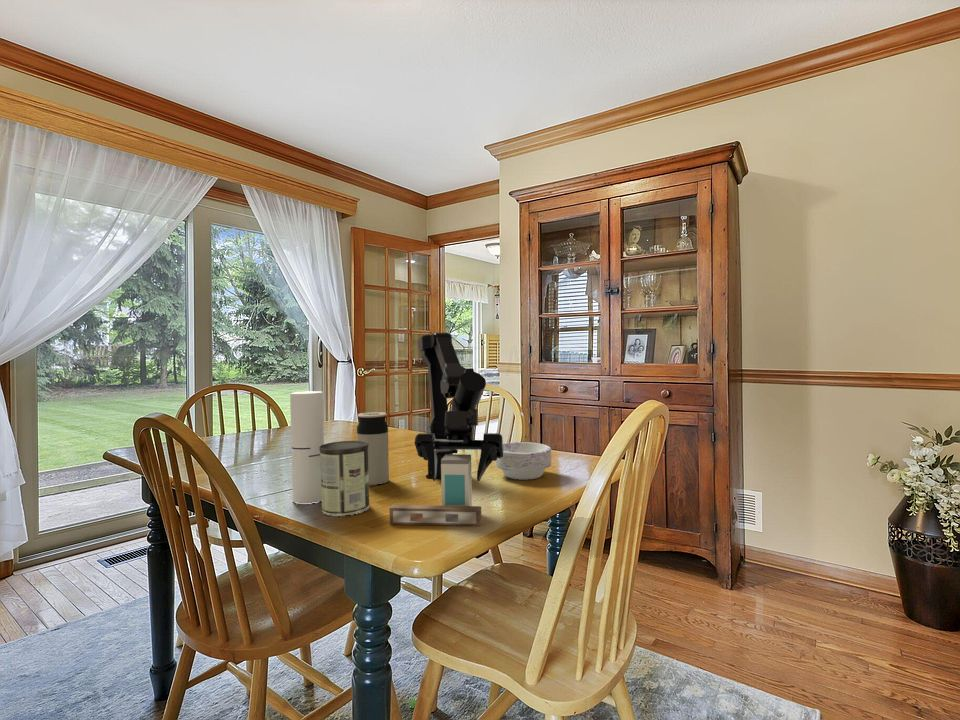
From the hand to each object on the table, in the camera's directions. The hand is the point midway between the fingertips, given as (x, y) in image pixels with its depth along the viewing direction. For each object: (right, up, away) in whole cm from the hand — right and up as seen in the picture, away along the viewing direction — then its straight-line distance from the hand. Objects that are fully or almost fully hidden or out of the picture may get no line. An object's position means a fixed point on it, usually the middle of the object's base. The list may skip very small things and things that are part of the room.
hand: (455, 480), depth 102 cm
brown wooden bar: (-4, -8, -4) cm, 9 cm away
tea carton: (0, -8, +1) cm, 8 cm away
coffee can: (-24, -8, +6) cm, 26 cm away
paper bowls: (+17, -7, +33) cm, 38 cm away
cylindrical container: (-35, -8, +14) cm, 38 cm away
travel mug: (-23, -8, +29) cm, 38 cm away
